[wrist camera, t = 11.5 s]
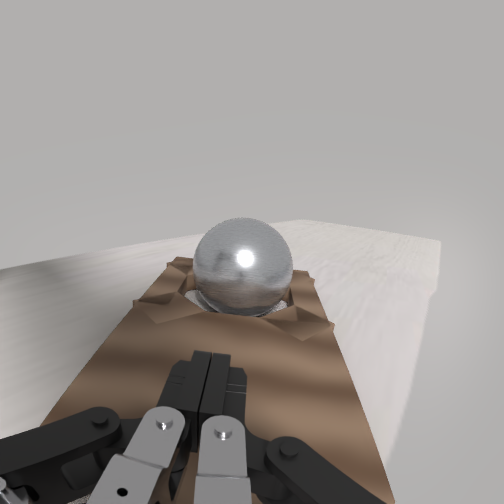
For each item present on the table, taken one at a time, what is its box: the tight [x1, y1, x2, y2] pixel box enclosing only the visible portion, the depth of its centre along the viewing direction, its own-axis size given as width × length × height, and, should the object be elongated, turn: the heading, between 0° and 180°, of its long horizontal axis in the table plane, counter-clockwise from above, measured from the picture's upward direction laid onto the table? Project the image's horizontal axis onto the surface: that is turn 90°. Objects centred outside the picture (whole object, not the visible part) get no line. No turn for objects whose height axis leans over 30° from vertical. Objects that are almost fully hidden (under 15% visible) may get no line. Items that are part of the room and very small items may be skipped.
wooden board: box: [40, 257, 395, 504], centre depth 26 cm, size 34×19×2 cm, turn 178°
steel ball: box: [193, 218, 293, 317], centre depth 31 cm, size 10×10×10 cm
